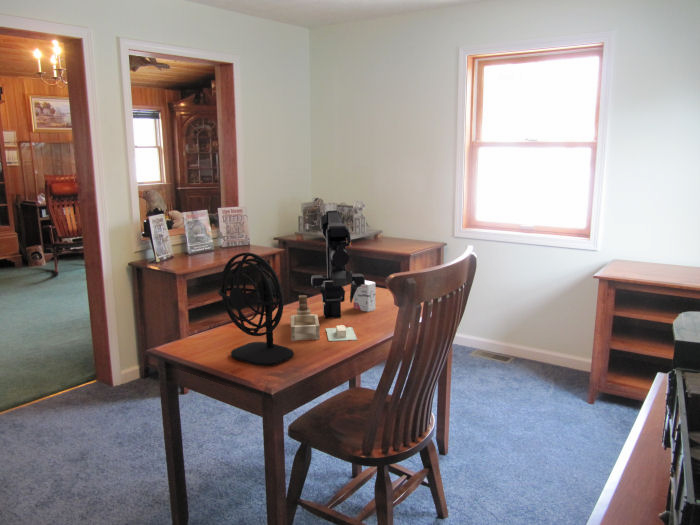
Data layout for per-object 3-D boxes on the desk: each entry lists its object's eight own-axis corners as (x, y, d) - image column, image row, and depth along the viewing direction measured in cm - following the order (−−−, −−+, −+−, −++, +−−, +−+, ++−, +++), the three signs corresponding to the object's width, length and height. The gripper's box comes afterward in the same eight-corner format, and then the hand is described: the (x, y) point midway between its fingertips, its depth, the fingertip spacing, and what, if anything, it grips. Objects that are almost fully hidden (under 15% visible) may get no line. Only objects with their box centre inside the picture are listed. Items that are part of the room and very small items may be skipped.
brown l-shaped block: (306, 304, 220) (306, 295, 219) (307, 309, 213) (307, 300, 212) (299, 304, 220) (298, 295, 219) (299, 309, 213) (299, 300, 212)
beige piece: (316, 321, 218) (316, 307, 217) (319, 339, 199) (319, 323, 198) (290, 323, 217) (290, 308, 216) (291, 340, 198) (290, 324, 197)
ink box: (352, 308, 236) (352, 281, 234) (360, 305, 240) (360, 279, 238) (368, 312, 231) (368, 284, 228) (376, 309, 234) (376, 282, 232)
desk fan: (211, 356, 183) (204, 251, 176) (250, 341, 197) (245, 243, 190) (271, 375, 168) (266, 261, 161) (309, 357, 182) (306, 251, 174)
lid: (352, 329, 211) (352, 320, 210) (357, 341, 198) (357, 332, 197) (325, 330, 210) (325, 321, 209) (328, 343, 197) (328, 333, 196)
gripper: (312, 266, 189) (313, 310, 193) (367, 264, 191) (367, 308, 195) (310, 259, 200) (311, 301, 203) (362, 258, 202) (362, 299, 206)
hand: (338, 303), depth 201 cm, fingers open, 9 cm apart
